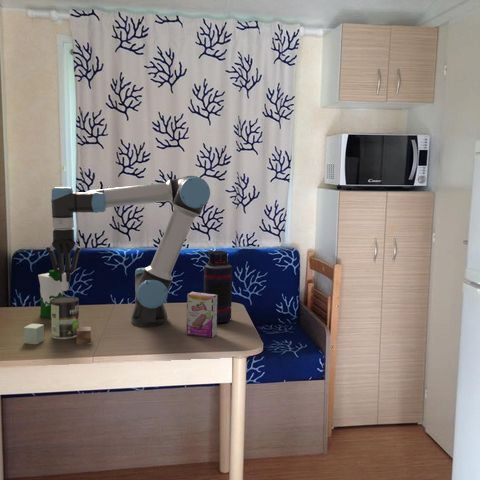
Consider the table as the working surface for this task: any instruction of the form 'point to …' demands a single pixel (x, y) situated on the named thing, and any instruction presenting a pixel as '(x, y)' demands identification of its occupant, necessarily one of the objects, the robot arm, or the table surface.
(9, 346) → the table surface
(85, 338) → the brown wooden cube
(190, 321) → the candy bar box
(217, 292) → the dark capped bottle
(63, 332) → the coffee can
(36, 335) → the sage block
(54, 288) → the milk carton
